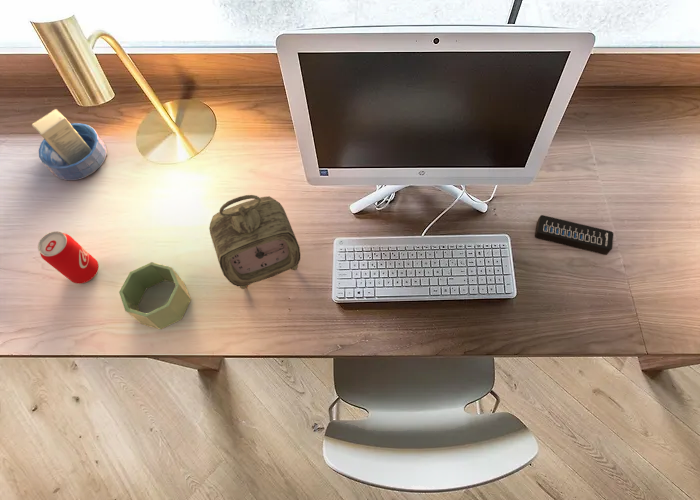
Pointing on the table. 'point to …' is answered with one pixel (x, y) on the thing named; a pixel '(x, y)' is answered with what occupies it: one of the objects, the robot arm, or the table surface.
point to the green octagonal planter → (147, 278)
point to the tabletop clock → (253, 240)
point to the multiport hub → (574, 235)
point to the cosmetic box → (62, 137)
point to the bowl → (81, 167)
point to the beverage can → (68, 257)
